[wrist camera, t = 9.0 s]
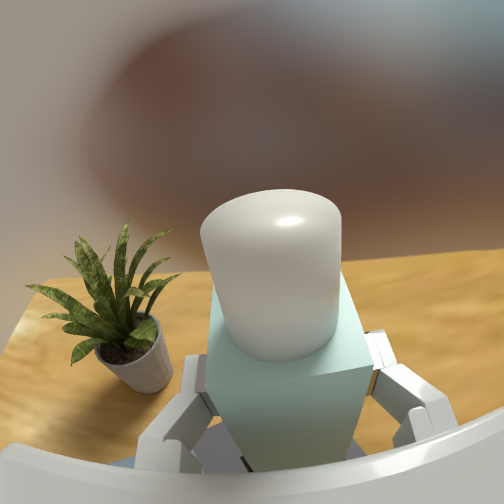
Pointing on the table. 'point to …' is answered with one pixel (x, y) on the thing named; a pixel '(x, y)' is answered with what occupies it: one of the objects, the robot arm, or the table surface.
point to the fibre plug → (283, 330)
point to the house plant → (117, 317)
